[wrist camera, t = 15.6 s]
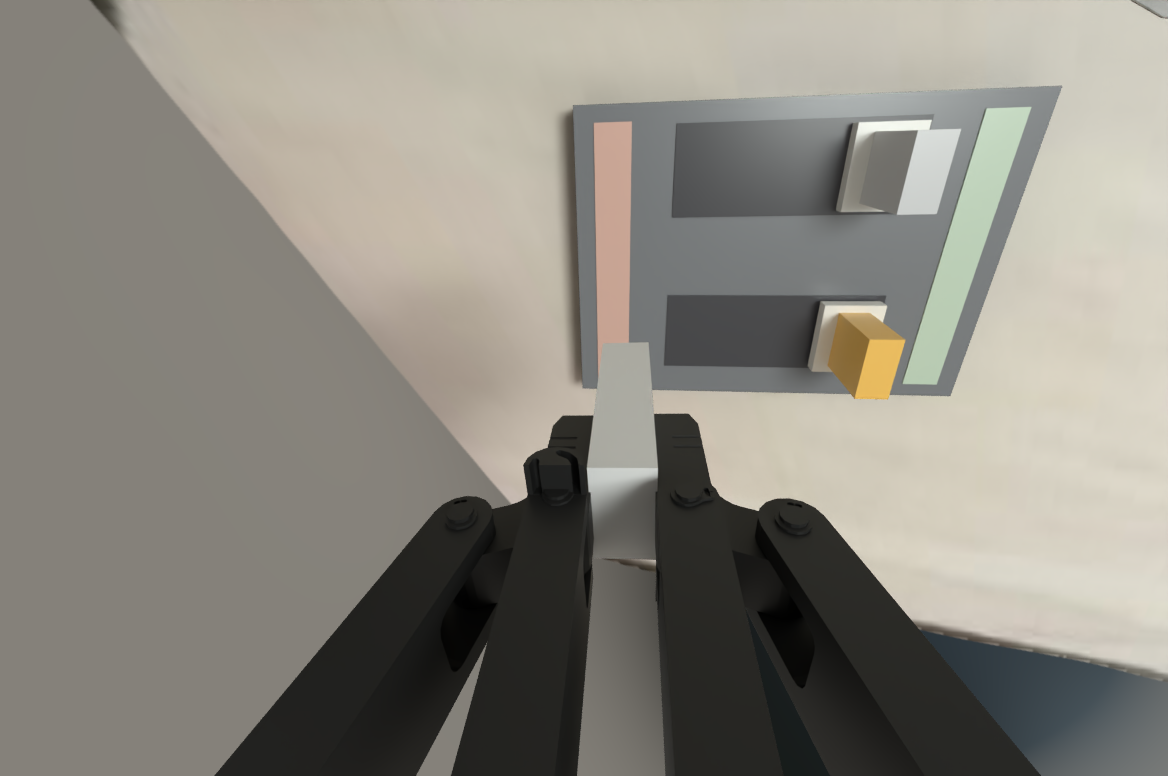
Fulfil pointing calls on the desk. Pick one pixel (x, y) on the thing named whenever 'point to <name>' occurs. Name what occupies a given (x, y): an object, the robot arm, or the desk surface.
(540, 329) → the desk surface
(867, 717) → the robot arm
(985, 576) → the desk surface
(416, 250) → the desk surface
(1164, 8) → the emergency button
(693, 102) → the breaker panel
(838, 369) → the breaker handle
